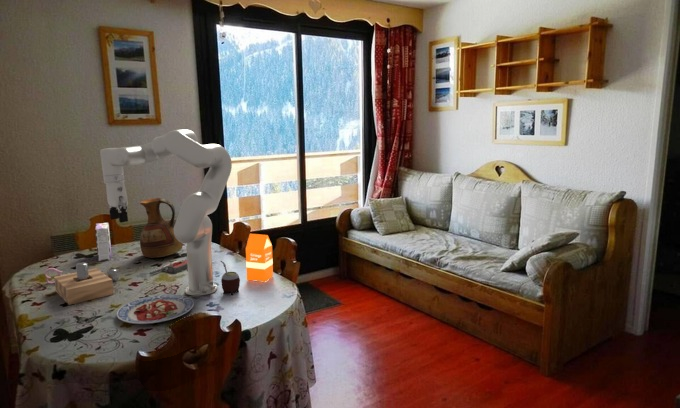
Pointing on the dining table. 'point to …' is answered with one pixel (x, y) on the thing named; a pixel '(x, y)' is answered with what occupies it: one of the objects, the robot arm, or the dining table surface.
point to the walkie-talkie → (173, 267)
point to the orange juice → (259, 258)
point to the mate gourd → (230, 282)
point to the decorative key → (54, 270)
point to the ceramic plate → (155, 309)
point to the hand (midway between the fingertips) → (119, 220)
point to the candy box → (103, 241)
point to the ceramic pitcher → (158, 231)
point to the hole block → (83, 286)
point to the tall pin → (82, 271)
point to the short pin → (113, 274)
